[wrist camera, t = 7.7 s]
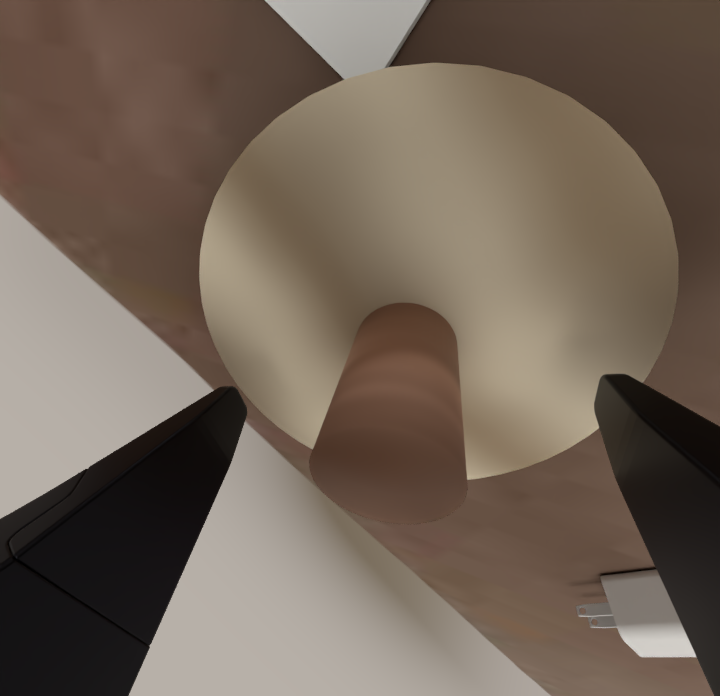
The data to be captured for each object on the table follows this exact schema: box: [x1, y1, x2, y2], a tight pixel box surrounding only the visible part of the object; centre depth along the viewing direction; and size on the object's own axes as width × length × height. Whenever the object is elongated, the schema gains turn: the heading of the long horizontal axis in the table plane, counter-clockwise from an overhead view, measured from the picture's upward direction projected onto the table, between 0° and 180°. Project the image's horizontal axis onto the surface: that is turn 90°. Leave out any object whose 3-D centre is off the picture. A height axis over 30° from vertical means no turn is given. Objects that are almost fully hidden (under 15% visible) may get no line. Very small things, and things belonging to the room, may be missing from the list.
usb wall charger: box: [576, 569, 696, 657], centre depth 24 cm, size 4×7×4 cm, turn 133°
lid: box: [199, 63, 678, 524], centre depth 9 cm, size 13×13×6 cm
